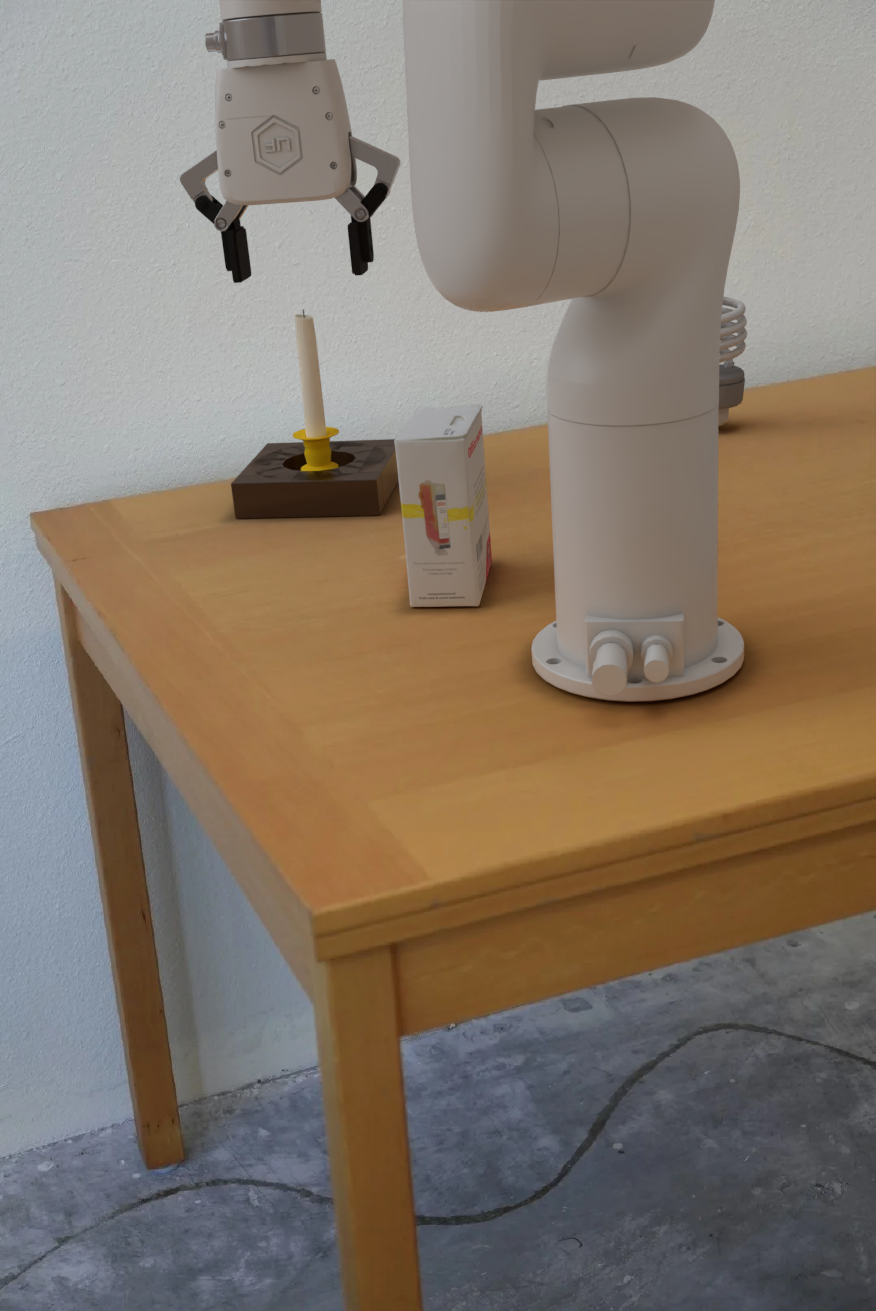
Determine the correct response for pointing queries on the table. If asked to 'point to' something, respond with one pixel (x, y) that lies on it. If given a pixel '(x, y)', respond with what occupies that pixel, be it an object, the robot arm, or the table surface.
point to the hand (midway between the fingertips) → (301, 276)
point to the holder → (317, 481)
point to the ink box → (444, 506)
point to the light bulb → (731, 358)
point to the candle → (312, 400)
